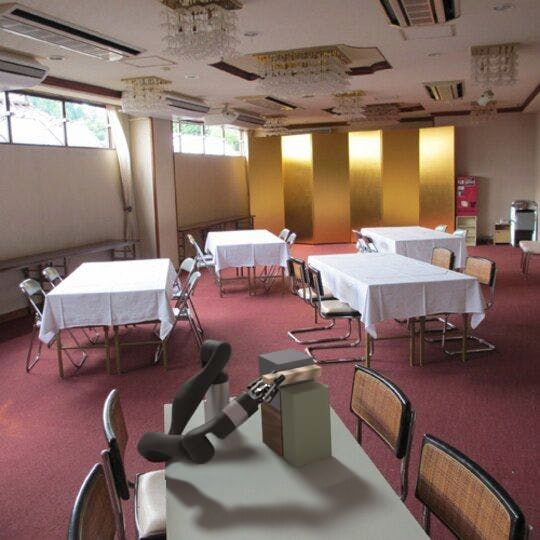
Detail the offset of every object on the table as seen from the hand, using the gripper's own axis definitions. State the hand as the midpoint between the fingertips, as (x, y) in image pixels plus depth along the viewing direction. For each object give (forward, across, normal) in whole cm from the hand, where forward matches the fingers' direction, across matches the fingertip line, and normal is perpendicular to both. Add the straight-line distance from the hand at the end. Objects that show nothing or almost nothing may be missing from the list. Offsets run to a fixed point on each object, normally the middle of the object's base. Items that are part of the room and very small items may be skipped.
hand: (280, 374), depth 183 cm
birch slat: (+3, 0, -5) cm, 5 cm away
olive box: (-7, 0, -31) cm, 32 cm away
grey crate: (+1, -12, -17) cm, 21 cm away
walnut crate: (-7, -12, -31) cm, 34 cm away
